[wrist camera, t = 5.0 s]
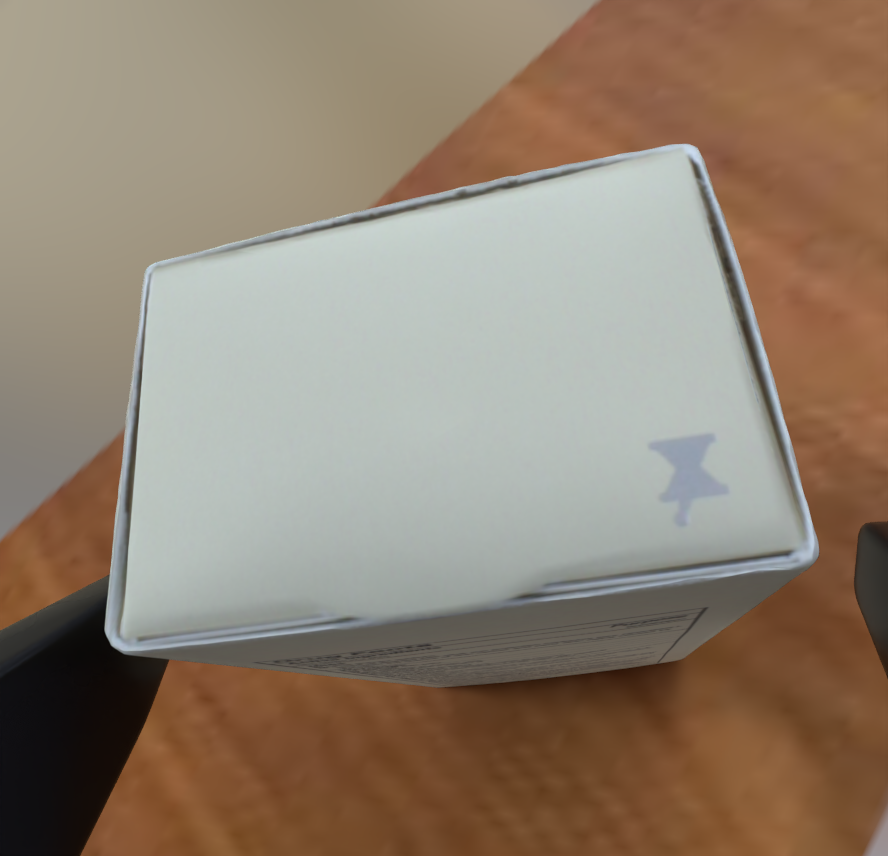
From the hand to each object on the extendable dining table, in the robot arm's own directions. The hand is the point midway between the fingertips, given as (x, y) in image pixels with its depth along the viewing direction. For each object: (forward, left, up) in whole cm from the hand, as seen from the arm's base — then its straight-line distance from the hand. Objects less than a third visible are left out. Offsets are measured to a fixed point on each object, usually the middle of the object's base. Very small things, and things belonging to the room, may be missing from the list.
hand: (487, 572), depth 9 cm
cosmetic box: (+1, -1, -9) cm, 9 cm away
